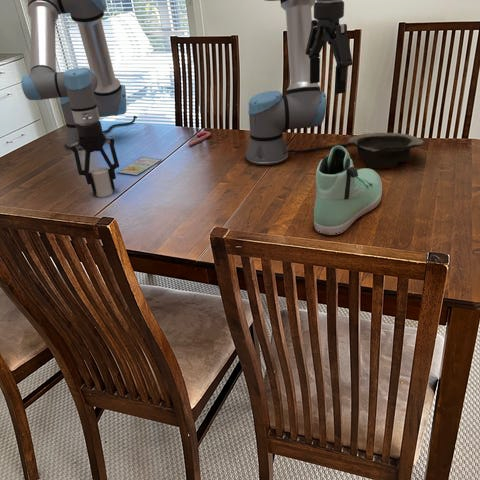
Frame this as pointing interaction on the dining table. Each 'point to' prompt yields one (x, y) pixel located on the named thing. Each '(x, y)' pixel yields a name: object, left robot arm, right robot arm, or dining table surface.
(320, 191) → the sneaker
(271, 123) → the right robot arm
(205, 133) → the candy cane
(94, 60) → the left robot arm
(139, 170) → the baking ingredient package
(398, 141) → the stone bowl
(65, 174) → the dining table surface
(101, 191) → the canister
